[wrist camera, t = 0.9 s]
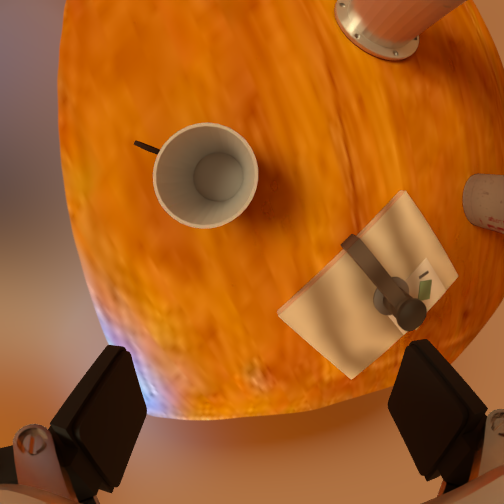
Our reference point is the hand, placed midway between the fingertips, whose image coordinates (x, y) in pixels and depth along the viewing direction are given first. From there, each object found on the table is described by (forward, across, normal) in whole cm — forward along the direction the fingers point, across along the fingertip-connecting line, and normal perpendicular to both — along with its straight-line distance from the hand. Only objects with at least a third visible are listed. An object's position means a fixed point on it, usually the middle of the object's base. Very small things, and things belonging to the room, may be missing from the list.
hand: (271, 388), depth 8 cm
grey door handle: (+23, -16, +6) cm, 29 cm away
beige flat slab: (+26, -16, +8) cm, 31 cm away
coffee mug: (+26, +5, -8) cm, 28 cm away
